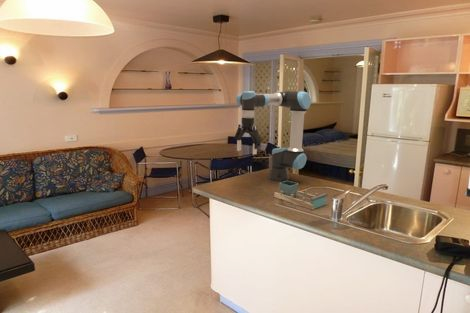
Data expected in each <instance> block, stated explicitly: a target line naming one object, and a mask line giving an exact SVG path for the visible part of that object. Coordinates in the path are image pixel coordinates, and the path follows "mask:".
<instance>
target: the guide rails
mask: <svg viewBox="0 0 470 313" xmlns="http://www.w3.org/2000/svg"><path fill="white" fill-rule="evenodd" d="M318 195H319V193H318V192H315V194H310V193H308V190H307V189H304V190H303V191H301V190H297V192H296V194H295V195H294V194H291V197H290V196H287V195H284V194H283V191H280V190H279V192H276V191H275V192H274V195H273V198H275V199H278V200H281V199H282V201H284V202H288V203H290V204H293V205H297V206H300V207H303V208H305V209H308V210H315V209H314V204H312V203H311V202H308V201H305V200H309V201H310V198H313V197H315V196H318ZM295 196H296V197H299V198H301V199H299V198H295ZM327 204H328V199H327V198H326V203H325V205H324V206H326V205H327Z"/></svg>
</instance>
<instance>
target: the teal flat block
mask: <svg viewBox="0 0 470 313" xmlns="http://www.w3.org/2000/svg"><path fill="white" fill-rule="evenodd" d="M328 195H329V194H328V193H325V192H324V193H321V194H318V196H315V195H314V196H315V197H313V198H310V200H309V201H310V203H312V204H314V209H313V210H315V209H318V208H320V207H324V206H326V205H325V203H326V199H327V197H328Z"/></svg>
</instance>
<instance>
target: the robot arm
mask: <svg viewBox="0 0 470 313" xmlns="http://www.w3.org/2000/svg"><path fill="white" fill-rule="evenodd" d="M235 102H236V104H237V105H238V106H241V122H240V123H241V124H239V123H238V127H237V130H236V133H235V135H234V139H235V140H236V151H237V152H240V151H242V138H243V136H244V135H245V134H248V135H249V136H250V138H251V139H252V142H253V143H252V155H257V154H258V153H257V152H258V147H259V143H261V138H260V134H259V131H258V126H254V124H255V109H256V108H265V107H268V106H275V107H282V108H288V109H289V112H290V113H291V122H290V136H289V147H277V148H272V150H271V166H270V170H269V173H268V179H269V180H271V181H276V182H277V181H278V182H284V181H289V178H290V175H289V172H288V168H290V169H294V170H301V169H302V168H304V167H305V165H306V162H307V160H308V159H307V158H308V156H307V155H306V154H305V153H304V152H305V150H304V149H303V148H302V147H303V136H304V135H303V134H304V125H305V124H304V122H305V114H306V113H307V112H308V109H309V108H310V107H311V104H312V98H311V96H310V93H309V92H306V91H301V90H300V91H297V90H295V91H293V90H287V91H285V90H284V91H278V92H277V91H276V92H274V93H256V92H255V91H254V90H249V91H248V90H243V91H242V93H239V94H237V95H236V98H235Z"/></svg>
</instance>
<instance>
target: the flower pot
mask: <svg viewBox="0 0 470 313" xmlns="http://www.w3.org/2000/svg"><path fill="white" fill-rule="evenodd" d="M278 185H279V192H280V191H283V194H284V195H287V196H290V197H291V194H294V196H296V195H295V194H296V192H297V191H298V187H299V183H298V182H294V181H290V180H286V181H280V182H279V184H278Z"/></svg>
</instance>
